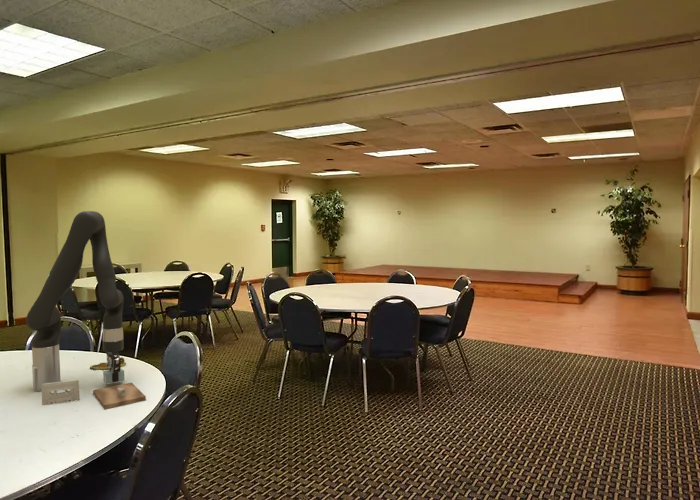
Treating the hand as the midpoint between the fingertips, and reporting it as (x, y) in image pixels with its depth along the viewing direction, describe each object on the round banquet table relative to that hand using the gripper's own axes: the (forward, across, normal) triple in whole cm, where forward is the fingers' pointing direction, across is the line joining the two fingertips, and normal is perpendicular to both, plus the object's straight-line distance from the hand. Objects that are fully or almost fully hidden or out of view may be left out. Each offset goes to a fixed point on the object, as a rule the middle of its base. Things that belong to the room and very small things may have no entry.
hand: (113, 379), depth 197 cm
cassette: (+3, +8, -20) cm, 22 cm away
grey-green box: (0, 0, 0) cm, 0 cm away
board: (+2, +16, -2) cm, 17 cm away
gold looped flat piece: (+3, -28, +4) cm, 29 cm away
